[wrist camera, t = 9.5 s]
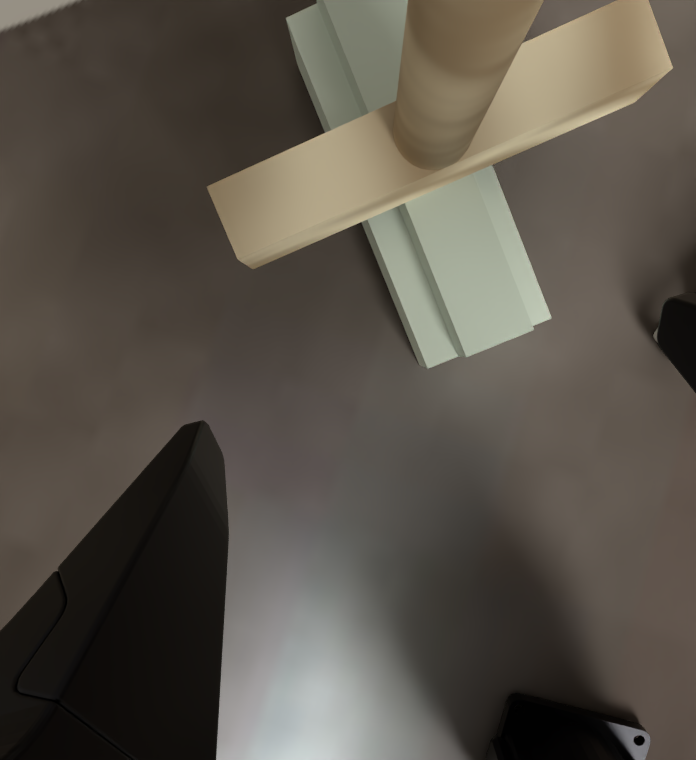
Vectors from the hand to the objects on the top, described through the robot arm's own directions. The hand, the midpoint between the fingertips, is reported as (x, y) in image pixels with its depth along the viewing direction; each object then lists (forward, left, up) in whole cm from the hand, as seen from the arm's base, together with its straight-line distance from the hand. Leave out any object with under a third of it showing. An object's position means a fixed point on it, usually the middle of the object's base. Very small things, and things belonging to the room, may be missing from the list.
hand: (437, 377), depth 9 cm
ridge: (+1, -7, -12) cm, 14 cm away
